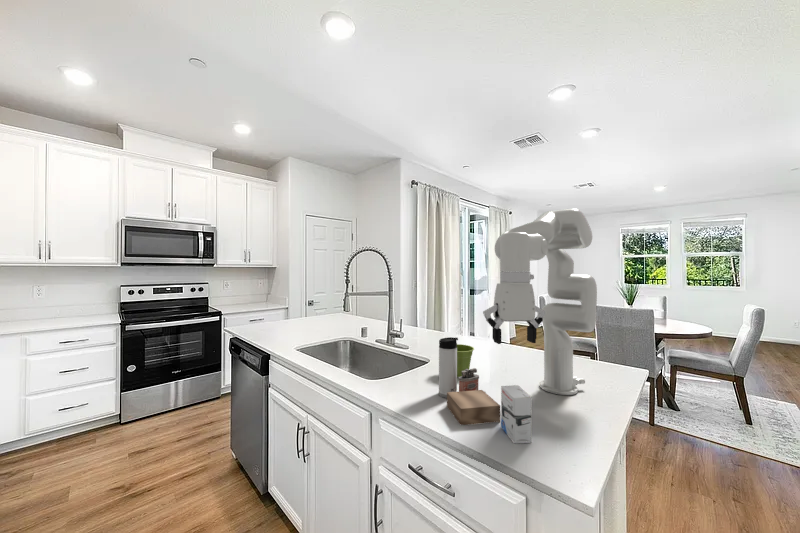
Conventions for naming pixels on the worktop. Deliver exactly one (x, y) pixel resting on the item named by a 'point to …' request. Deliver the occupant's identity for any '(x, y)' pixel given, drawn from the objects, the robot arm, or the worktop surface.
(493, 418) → the walnut block
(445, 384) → the travel mug
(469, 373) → the lighter
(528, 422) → the ink box
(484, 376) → the worktop surface
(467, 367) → the plant pot
